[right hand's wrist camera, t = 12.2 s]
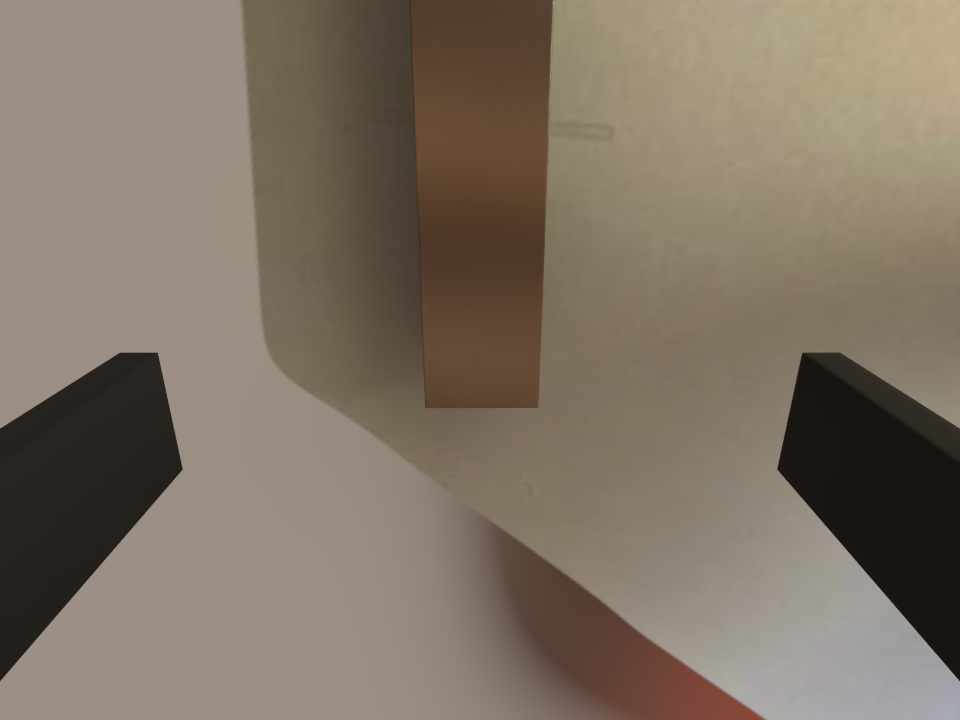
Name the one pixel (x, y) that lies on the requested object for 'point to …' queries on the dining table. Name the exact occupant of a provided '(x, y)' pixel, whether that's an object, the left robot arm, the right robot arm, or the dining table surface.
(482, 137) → the bar
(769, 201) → the dining table surface
